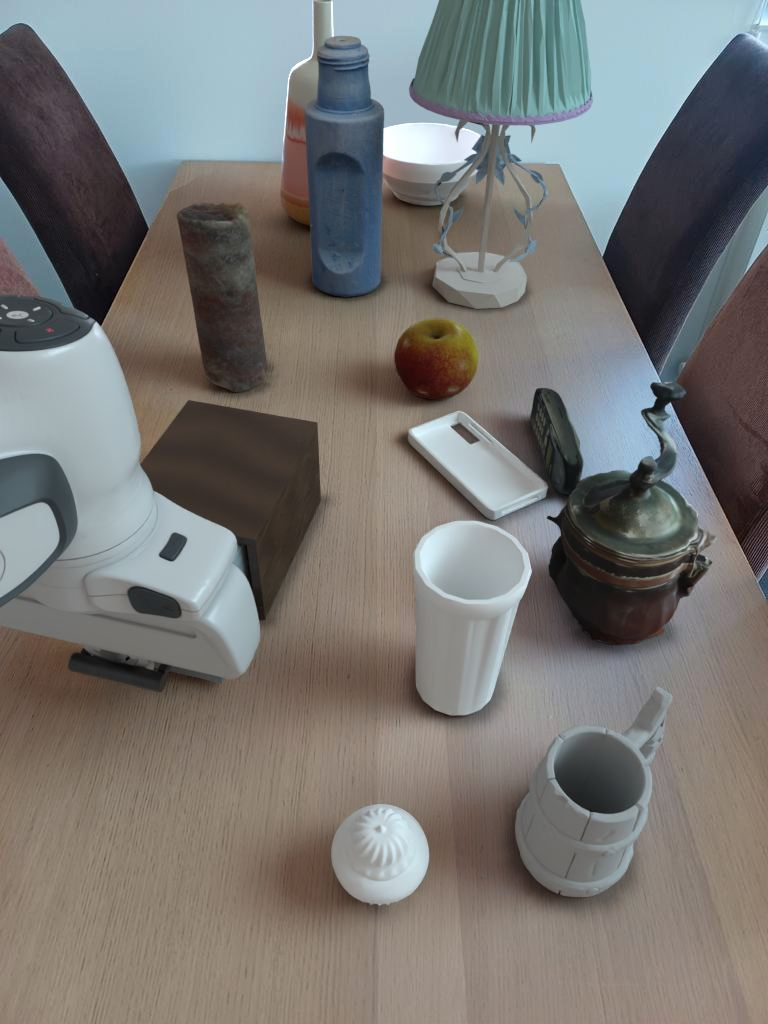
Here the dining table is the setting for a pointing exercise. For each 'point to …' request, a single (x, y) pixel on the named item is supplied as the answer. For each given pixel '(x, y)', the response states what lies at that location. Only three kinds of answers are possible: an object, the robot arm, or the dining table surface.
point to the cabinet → (243, 482)
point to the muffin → (380, 854)
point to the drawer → (148, 677)
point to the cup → (465, 611)
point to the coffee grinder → (630, 543)
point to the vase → (302, 119)
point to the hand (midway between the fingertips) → (132, 672)
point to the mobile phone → (556, 440)
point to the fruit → (436, 358)
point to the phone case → (477, 466)
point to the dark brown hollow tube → (224, 293)
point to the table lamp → (499, 114)
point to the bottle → (345, 171)
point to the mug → (590, 803)
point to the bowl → (425, 160)
